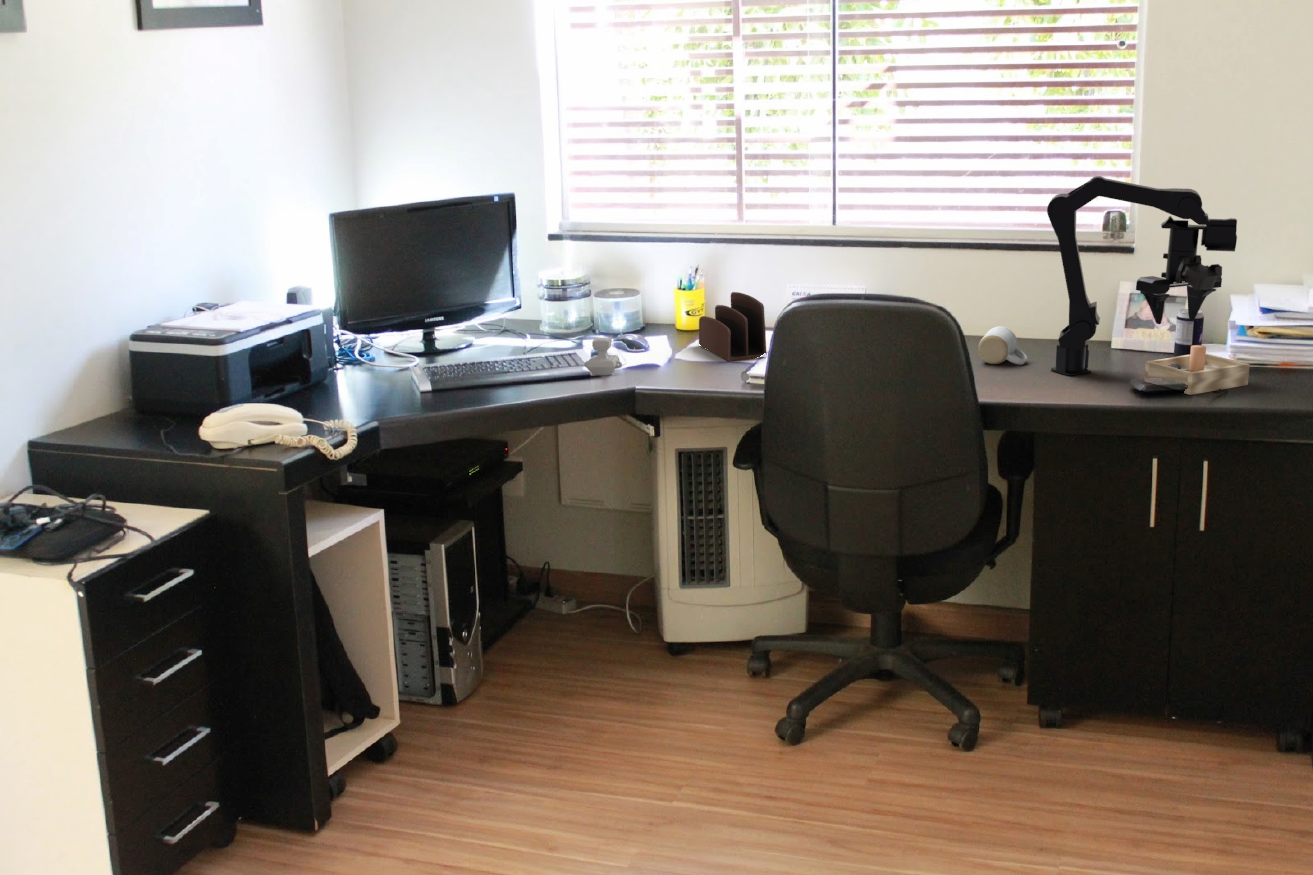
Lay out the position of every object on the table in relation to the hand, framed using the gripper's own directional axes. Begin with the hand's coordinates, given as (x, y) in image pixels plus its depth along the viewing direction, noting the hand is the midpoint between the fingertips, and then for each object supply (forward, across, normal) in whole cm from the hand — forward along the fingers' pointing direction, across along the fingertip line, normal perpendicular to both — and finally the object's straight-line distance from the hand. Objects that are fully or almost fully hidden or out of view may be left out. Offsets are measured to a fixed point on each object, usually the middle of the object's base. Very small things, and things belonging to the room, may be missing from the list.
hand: (1175, 321), depth 284 cm
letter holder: (+14, -72, +71) cm, 102 cm away
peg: (+12, 0, -7) cm, 14 cm away
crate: (+12, 0, -7) cm, 14 cm away
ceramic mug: (+13, -22, +30) cm, 39 cm away
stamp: (+15, -108, +66) cm, 127 cm away
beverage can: (+12, +12, +8) cm, 19 cm away
